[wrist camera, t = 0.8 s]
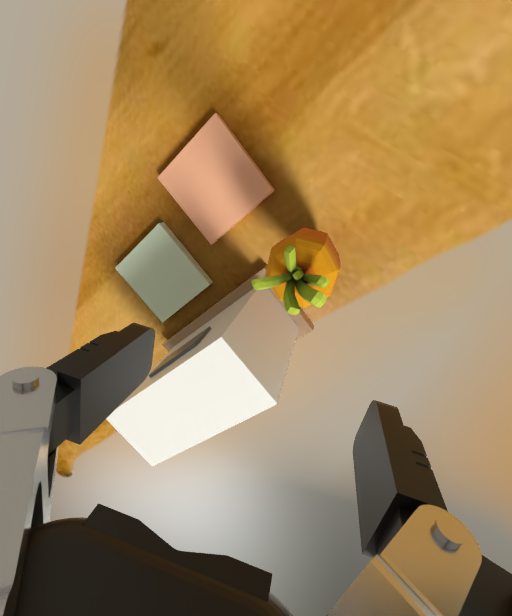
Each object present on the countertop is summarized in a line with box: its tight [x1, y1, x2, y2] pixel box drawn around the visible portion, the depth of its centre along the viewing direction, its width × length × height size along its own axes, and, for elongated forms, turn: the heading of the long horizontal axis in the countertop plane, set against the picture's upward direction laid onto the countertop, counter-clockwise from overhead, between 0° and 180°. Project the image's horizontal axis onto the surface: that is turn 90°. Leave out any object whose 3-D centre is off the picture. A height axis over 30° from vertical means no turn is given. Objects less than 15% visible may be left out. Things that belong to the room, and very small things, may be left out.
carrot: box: [251, 227, 340, 315], centre depth 23 cm, size 5×5×15 cm
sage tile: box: [115, 222, 213, 323], centre depth 34 cm, size 8×8×1 cm
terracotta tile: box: [158, 113, 275, 245], centre depth 29 cm, size 8×8×1 cm
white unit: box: [106, 265, 314, 466], centre depth 30 cm, size 16×8×13 cm, turn 130°
